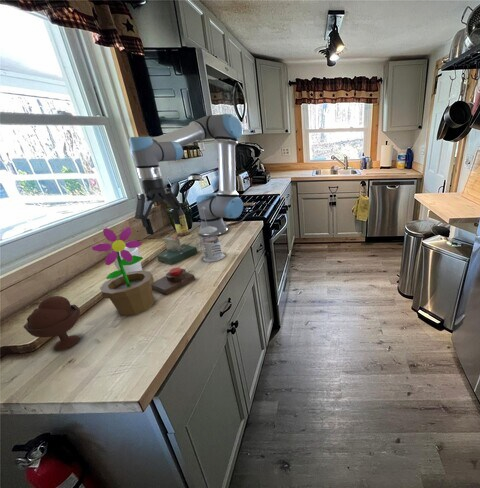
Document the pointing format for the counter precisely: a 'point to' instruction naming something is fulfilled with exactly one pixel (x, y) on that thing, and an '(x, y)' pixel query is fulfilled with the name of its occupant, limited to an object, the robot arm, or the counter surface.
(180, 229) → the sauce bottle
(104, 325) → the counter surface
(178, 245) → the gray upright block
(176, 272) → the red button
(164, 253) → the panel
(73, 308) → the ice cream bowl
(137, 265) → the foam cup
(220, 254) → the french press
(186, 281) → the button block
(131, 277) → the flowerpot
